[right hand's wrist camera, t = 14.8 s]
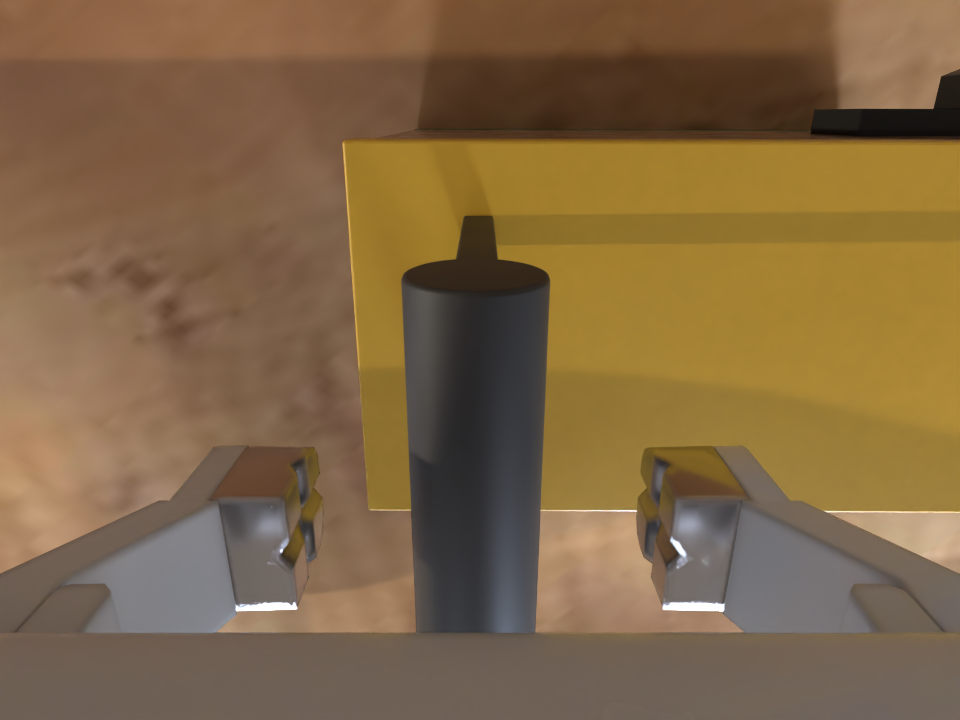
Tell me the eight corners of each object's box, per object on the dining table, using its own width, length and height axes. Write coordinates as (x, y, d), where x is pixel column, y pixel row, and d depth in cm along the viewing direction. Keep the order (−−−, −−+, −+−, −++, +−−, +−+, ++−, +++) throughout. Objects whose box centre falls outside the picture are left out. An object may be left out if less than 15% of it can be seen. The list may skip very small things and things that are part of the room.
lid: (375, 486, 19) (293, 768, 11) (352, 138, 15) (205, 163, 7) (970, 488, 19) (1343, 772, 11) (1083, 139, 15) (1765, 166, 7)
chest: (423, 355, 29) (391, 486, 19) (416, 129, 26) (372, 138, 15) (797, 356, 29) (969, 488, 19) (841, 130, 26) (1082, 139, 15)
